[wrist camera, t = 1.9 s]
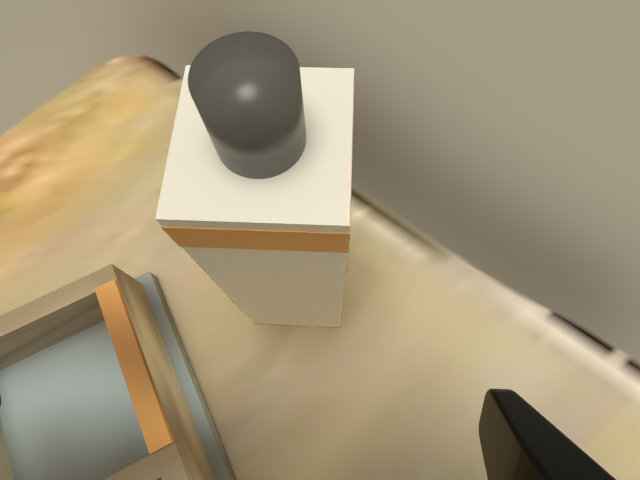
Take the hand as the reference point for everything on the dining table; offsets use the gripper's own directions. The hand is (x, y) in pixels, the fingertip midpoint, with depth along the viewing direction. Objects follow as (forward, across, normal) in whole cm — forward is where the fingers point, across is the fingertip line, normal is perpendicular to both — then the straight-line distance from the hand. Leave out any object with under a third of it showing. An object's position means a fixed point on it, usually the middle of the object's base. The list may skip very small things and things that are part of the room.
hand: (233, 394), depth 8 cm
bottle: (+12, 0, +5) cm, 13 cm away
